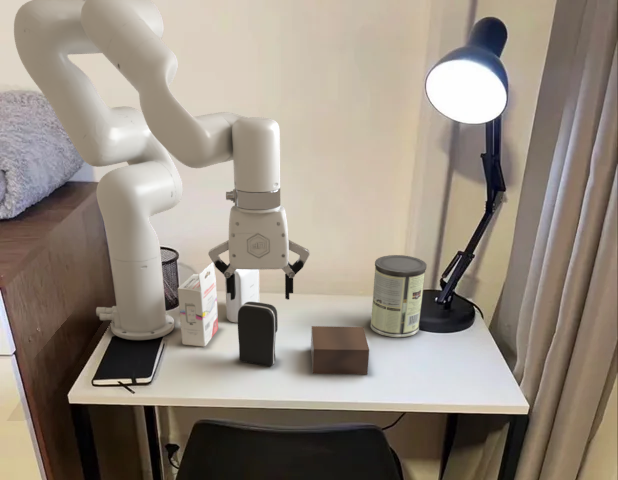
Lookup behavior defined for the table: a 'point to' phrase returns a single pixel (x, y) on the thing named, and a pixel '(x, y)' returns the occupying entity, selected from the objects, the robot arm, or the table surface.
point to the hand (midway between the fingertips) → (260, 296)
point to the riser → (339, 350)
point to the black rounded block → (257, 333)
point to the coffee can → (397, 295)
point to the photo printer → (242, 291)
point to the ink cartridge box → (198, 307)
